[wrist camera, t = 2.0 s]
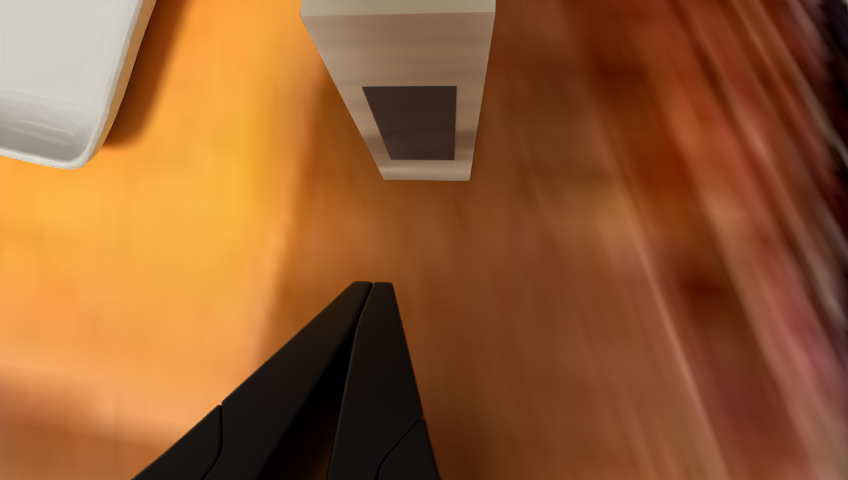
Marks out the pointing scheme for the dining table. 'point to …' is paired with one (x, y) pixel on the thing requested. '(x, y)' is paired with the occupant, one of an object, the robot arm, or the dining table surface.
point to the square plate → (65, 75)
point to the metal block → (408, 77)
